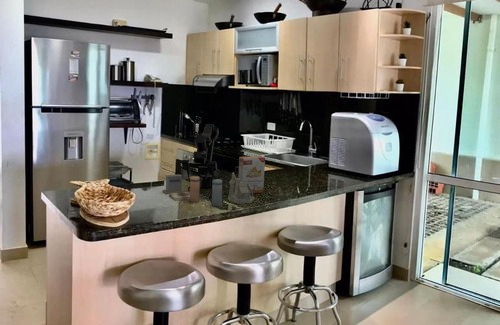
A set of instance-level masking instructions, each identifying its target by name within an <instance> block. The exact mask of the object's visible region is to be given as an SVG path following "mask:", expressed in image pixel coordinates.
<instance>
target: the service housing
mask: <svg viewBox="0 0 500 325" xmlns="http://www.w3.org/2000/svg"><path fill="white" fill-rule="evenodd" d="M182 180H183V175H181V174H165V189H162V193H164V194H165V195H169V193H180V192H186V191H185V190H184V189H183V181H182Z"/></svg>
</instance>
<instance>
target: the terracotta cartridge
mask: <svg viewBox="0 0 500 325" xmlns="http://www.w3.org/2000/svg"><path fill="white" fill-rule="evenodd" d="M200 180H201V177H199V175H190V176H189V192H190V200H189V202H190V203H194V204H195V203H199V202H200Z"/></svg>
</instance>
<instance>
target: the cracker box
mask: <svg viewBox="0 0 500 325" xmlns="http://www.w3.org/2000/svg"><path fill="white" fill-rule="evenodd" d="M238 160H239V161H238V178H239V179H240V182H244V180H245V181H246V184H252V186H253V189H254V190H253V195H255V194H264V187H265V186H264V184H265V167H266V166H265V165H266V157H264V156H261V155H258V156H256V155H255V156H239V158H238Z"/></svg>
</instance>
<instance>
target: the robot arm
mask: <svg viewBox="0 0 500 325" xmlns="http://www.w3.org/2000/svg"><path fill="white" fill-rule="evenodd" d="M219 134H220V132H219V127H217V126H216V125H215V124H213V123H206V124H205V125H204V127H203V132H202V133H199V134H198V135H195V137H194V144H195V148H196V151H193V162H190V159H182V160H181V162H180V164H181V167H182V170H184V171H186V174H187V179H190V176H191V175H190V173H191V167H198V176H199V177H200V182H199V188H202V189H204V190H205V189H212V188H213V179H214V178H216V174H215V173H216V171H217V170H218V165H217V161H216V160H212V158H213V152H214V151H213V150H214V144H215V142H216V141H217V139H218V136H219Z"/></svg>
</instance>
